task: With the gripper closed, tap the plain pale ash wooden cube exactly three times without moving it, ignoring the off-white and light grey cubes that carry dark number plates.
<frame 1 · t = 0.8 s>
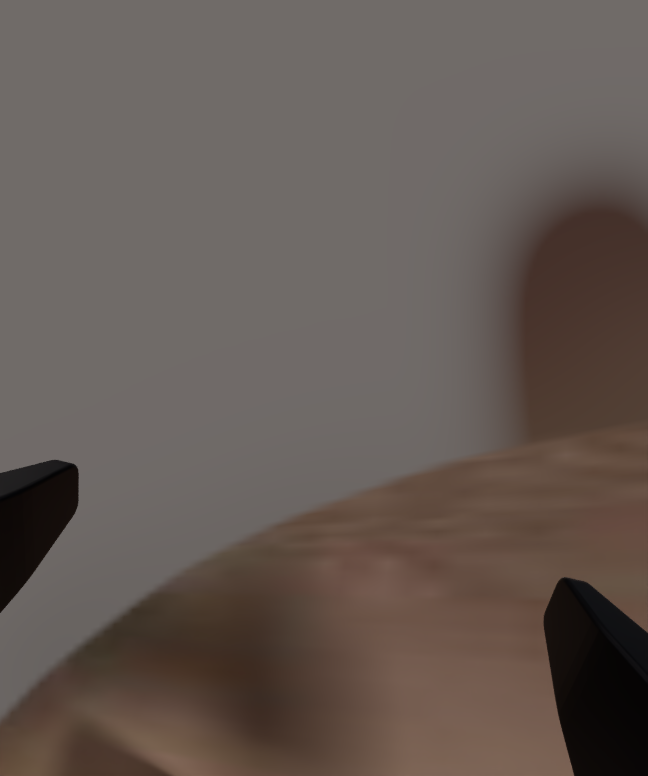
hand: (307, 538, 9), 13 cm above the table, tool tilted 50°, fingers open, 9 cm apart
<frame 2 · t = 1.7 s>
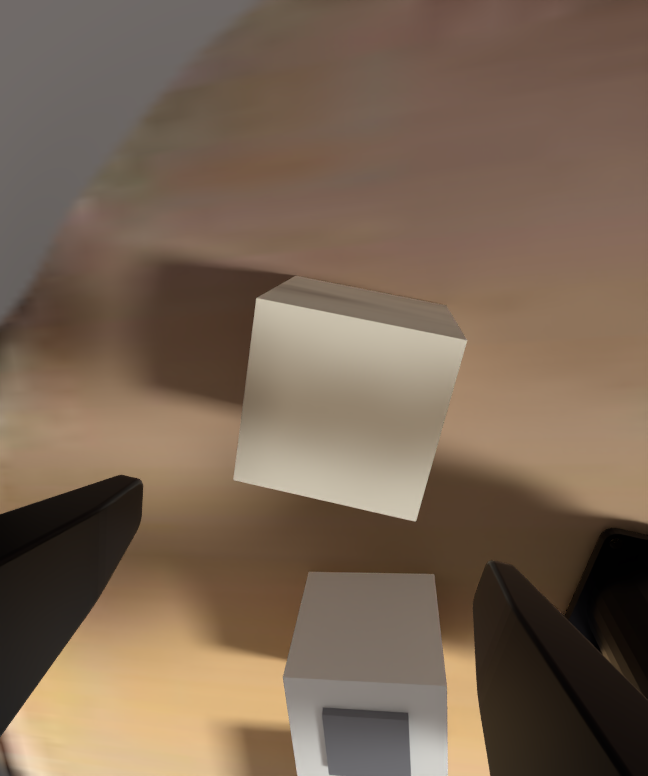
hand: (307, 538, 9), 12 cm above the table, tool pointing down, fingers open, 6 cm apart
plain ash cube: (355, 361, 20), on the table
off-white numbered cube: (373, 621, 25), on the table
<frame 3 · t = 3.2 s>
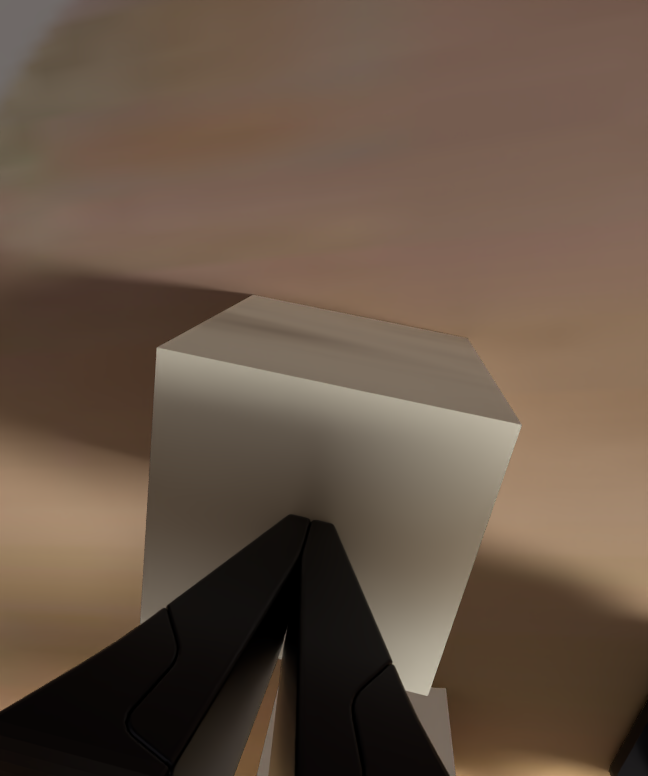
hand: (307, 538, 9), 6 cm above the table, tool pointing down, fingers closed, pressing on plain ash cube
plain ash cube: (338, 414, 15), on the table, touching gripper
off-white numbered cube: (365, 741, 19), on the table
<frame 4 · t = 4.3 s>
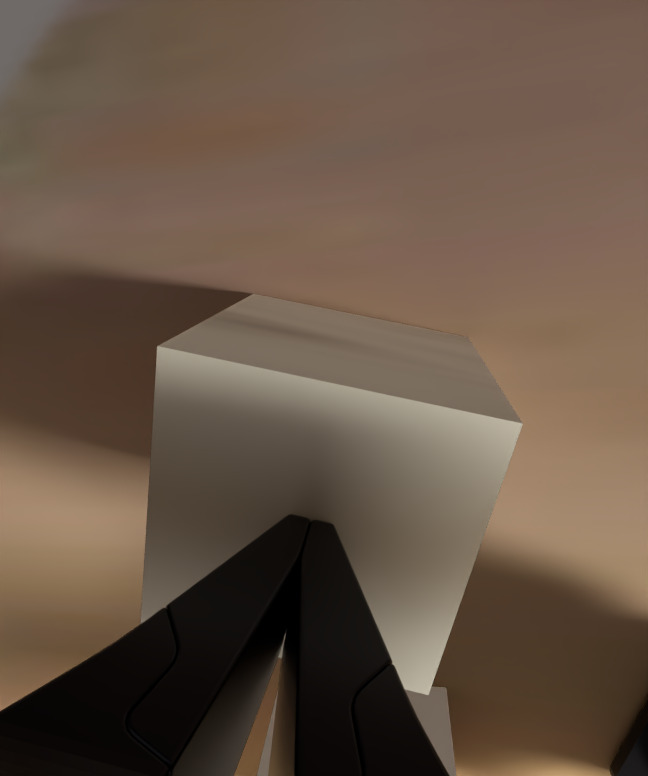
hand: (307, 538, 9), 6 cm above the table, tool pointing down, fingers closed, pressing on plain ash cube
plain ash cube: (339, 413, 15), on the table, touching gripper
off-white numbered cube: (366, 740, 19), on the table
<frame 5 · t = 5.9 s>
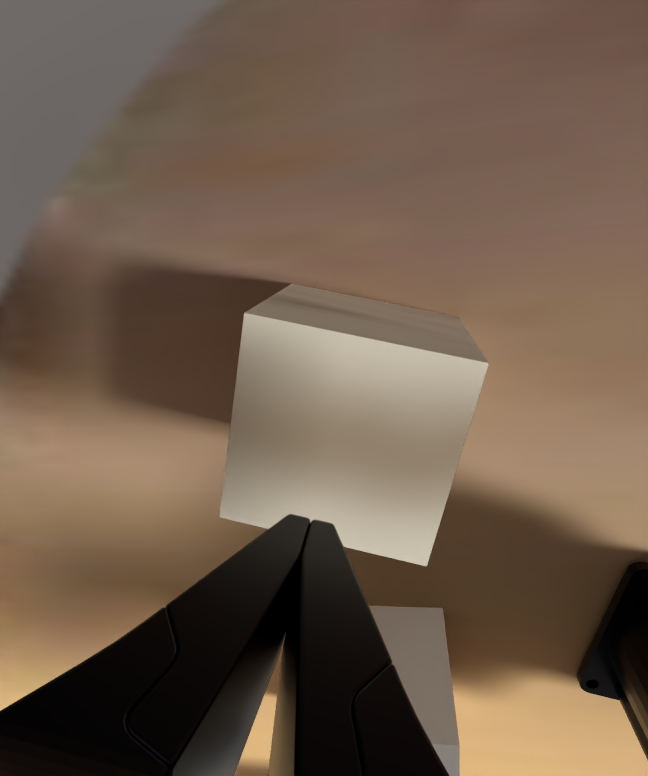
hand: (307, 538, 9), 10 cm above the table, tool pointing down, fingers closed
plain ash cube: (357, 378, 19), on the table
off-white numbered cube: (376, 657, 23), on the table
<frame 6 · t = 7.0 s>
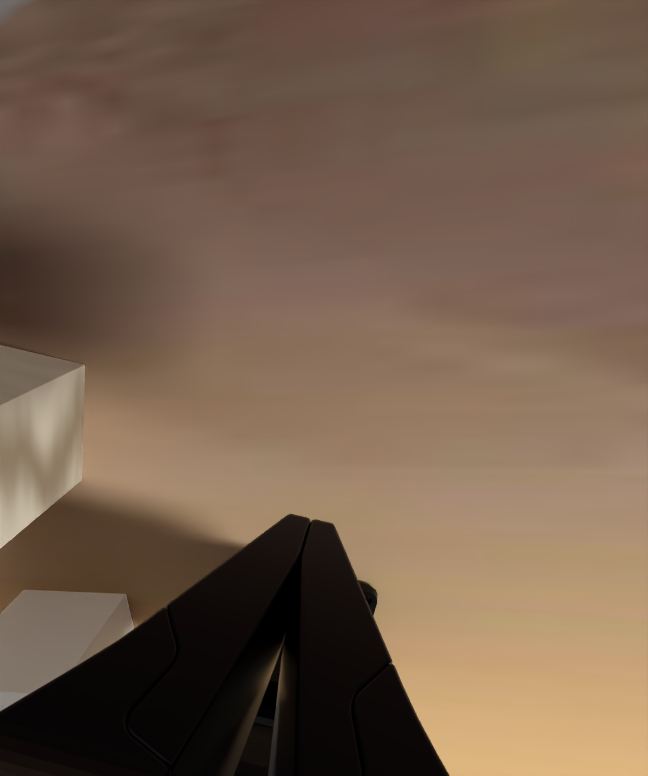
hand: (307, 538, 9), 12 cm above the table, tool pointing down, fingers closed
plain ash cube: (24, 409, 23), on the table
off-white numbered cube: (87, 634, 28), on the table
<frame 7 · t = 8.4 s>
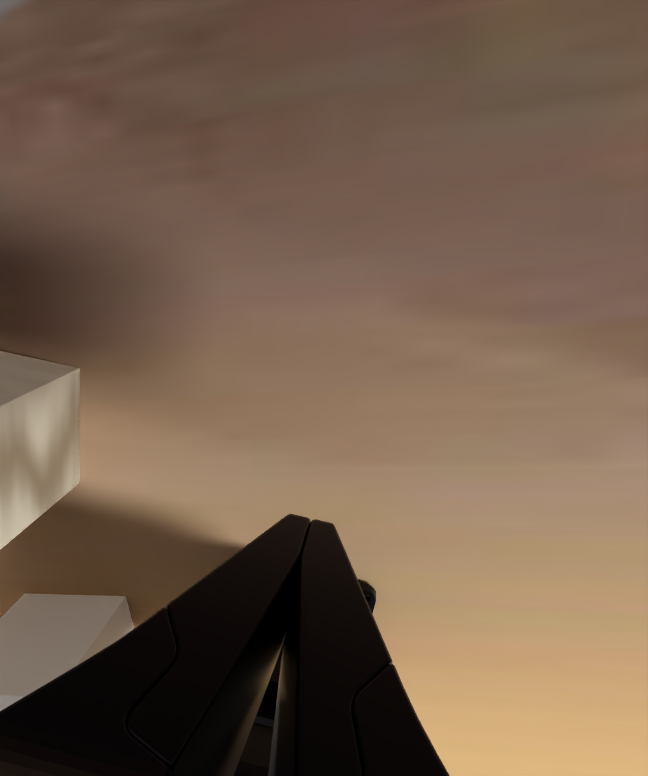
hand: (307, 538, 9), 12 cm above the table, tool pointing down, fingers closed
plain ash cube: (20, 414, 23), on the table
off-white numbered cube: (88, 637, 28), on the table
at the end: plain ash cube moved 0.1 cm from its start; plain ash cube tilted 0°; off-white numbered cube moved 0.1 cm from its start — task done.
